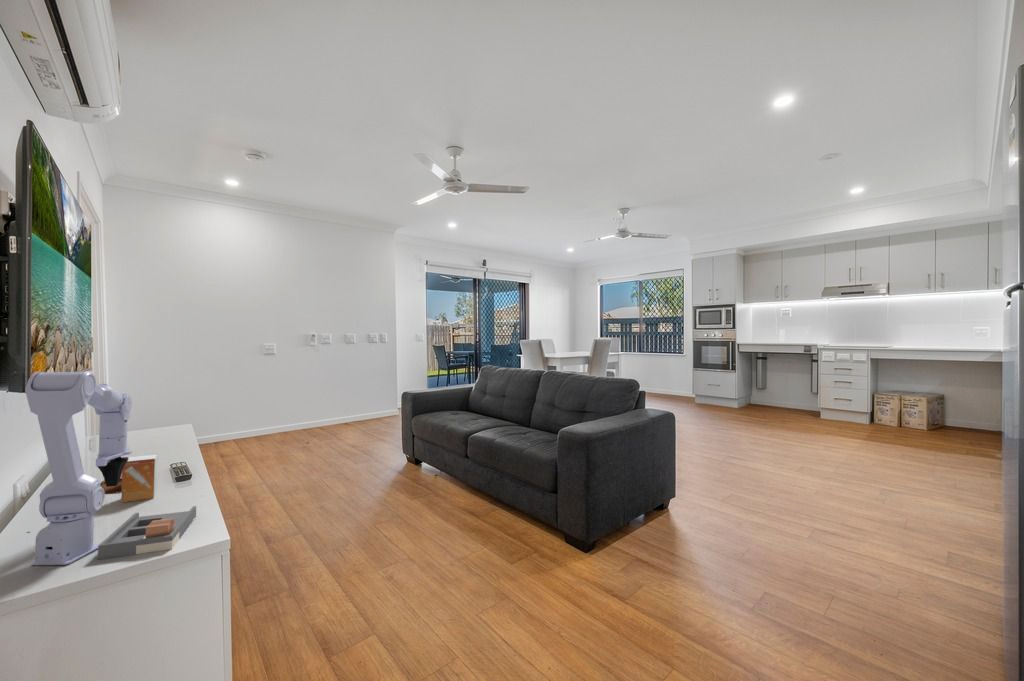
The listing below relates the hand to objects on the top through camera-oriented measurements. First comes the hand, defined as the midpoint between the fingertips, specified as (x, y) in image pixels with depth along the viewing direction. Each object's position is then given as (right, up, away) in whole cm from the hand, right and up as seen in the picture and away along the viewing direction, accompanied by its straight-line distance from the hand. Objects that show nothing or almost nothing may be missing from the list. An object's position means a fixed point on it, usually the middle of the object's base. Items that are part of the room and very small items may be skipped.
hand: (112, 485), depth 121 cm
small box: (-9, -11, +19) cm, 24 cm away
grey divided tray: (+18, -11, -8) cm, 22 cm away
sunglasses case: (-27, -11, +30) cm, 42 cm away
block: (+24, -9, -13) cm, 28 cm away
